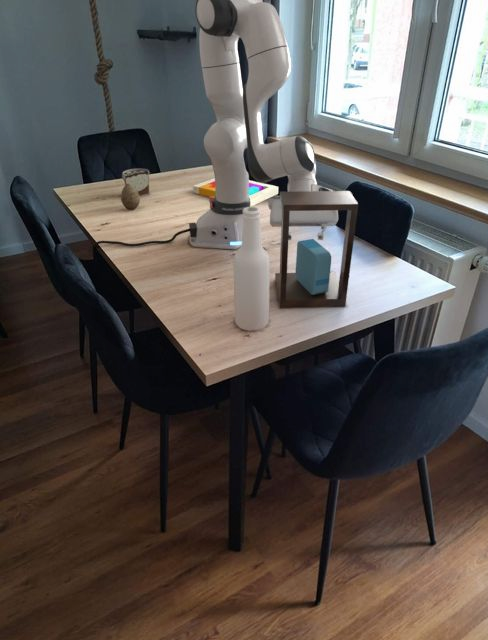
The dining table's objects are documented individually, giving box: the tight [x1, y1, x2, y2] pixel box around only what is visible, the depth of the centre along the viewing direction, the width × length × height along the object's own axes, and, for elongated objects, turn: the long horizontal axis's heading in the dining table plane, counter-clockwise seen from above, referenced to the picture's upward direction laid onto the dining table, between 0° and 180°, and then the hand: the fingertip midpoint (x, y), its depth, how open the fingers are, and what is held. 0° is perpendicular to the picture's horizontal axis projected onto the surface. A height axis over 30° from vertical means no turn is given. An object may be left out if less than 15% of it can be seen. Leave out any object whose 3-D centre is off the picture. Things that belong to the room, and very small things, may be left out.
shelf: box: [274, 190, 359, 309], centre depth 130 cm, size 18×16×28 cm
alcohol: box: [232, 206, 271, 332], centre depth 117 cm, size 9×9×30 cm
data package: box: [295, 238, 332, 295], centre depth 133 cm, size 12×4×12 cm, turn 22°
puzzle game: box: [192, 177, 279, 207], centre depth 206 cm, size 30×3×30 cm
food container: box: [121, 168, 151, 198], centre depth 204 cm, size 12×6×10 cm, turn 133°
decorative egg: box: [120, 184, 141, 211], centre depth 190 cm, size 7×7×10 cm
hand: (304, 239), depth 142 cm, fingers open, 8 cm apart
